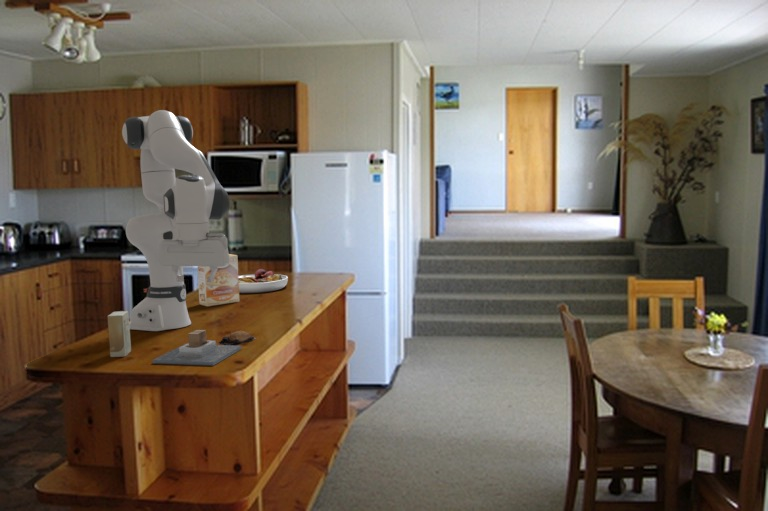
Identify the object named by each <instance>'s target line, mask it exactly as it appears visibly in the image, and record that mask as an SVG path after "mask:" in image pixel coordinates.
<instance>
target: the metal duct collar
mask: <svg viewBox="0 0 768 511" xmlns="http://www.w3.org/2000/svg"><path fill="white" fill-rule="evenodd" d="M240 350H242V345H237V346H233V345H223V344H217V340H209V339H208V340H207V343H206V344H204V345H203V346H201V347H189V344H188V342H187V343H184V344H183V345H180V346H178V347H176V348H175V349H172V350H170V351H168V352H165V353H164V354H162V355H159V356H157V357H156V358H154V359H152V364H153V365H154V364H156V365H157V364H158V365H180V366H181V365H183V366H205V367H206V366H207V367H208V366H209V367H210V366H211V367H212V366H216V365H217V364H219V363H221V362H222V361H224V360H227V358H229V357H230V356H232V355H233V354H235V353H237V352H239V351H240Z"/></svg>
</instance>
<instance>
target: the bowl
mask: <svg viewBox="0 0 768 511" xmlns="http://www.w3.org/2000/svg"><path fill="white" fill-rule="evenodd" d="M238 279H239V294H259V293H267V292H268V293H269V292H273V291H278V290H281V289H283V288H285V286H287V284H288V282H289V277H288V275H284V274H275V273H274V271H272V270H269V271H266V270H265V269H263V268H259V269H258V270H256V271H255V273H254V274H253V273H252V274H242V275H238Z"/></svg>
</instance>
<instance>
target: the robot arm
mask: <svg viewBox="0 0 768 511" xmlns="http://www.w3.org/2000/svg"><path fill="white" fill-rule="evenodd" d="M121 135H122V139H123V141H124V142H125V145H126V146H127V147H128V148H129V149H132V150H138V151H139V150H140V158H139V159H140V160H139V162H140V164H139V165H140V174H141V175H140V176H141V184H142V193H143V194H142V195H143V197H145V199H146V200H147V201H149V202H150V203H152V204H155V205H156V206H157V208H158V210H159V213H147V214H141V215H137V216H134V217H131V218H130V219H129V220H128V222H127V224H126V227H125V235H126V238H127V240H128V241H129V243H130V244H131V245H132V246H134V247H135V248H137V249H139V251H140V252H141V253H142V255H143V256H144V258H145V261H146V262H147V265H148V272H149V281H150V285H149V286H148V287H147V288H143V293H146V294H145V295H146V296H145V297H144V299H143V300H141V301H140V302H139V303H137V305H135V306H134V307H133V308H132V309H131V311H130V315H129V327H130V330H136V331H148V332H160V331H166V330H174V329H175V330H176V329H180V328H185V327H188V326H190V325H192V321H191V319H190V316H189V315H190V314H189V312H188V306H187V303H186V302H187V301H186V300H187V289H186V284H185V279H184V278H185V276H184V267H198V266H210V270H212V271H211V274H210V275H209V276H207V282H214V275H215V274H216V272H217V270H218V267H223V266H226V265H228V263H229V262H230V259H229V254H230V253H229V248H228V247H229V242H228V241H229V239H228V237H227V236H226V235H225V234H223V233H221V232H220V233H214V232H210V226H209V225H210V223H209V220H217V221H220V220H221V219H222V218H224V216H226V215H227V214H228V212H229V211H230V207H231V206H230V198H229V194H228V192H227V190H226V189H225V188H224V187H223V185H221V183H220V182H219V180H218V178H217V176H216V174H215V173H214V171H213V169H212V167H211V166H210V164H209V162H208V161H207V159H206V157H205V155H204V153H203V152H202V151H201V150H199V149H197V148H196V147H195V146H194V145H192V144H191V143H192V140H193V135H194V130H193V125H192V123H191V120H189V118H188V117H185V116H182V115H175V114H174V113H173V112H171V111H168V110H165V109H160V110H159V109H158V110H156V111H154V112H152V113H151V114H150V115H146V116H132V117H131V116H130V117H128V118H126V119H125V120H124V122H123V126H122V130H121ZM176 170H179V171H183V172H187V173H190V174H182V175H179V176H177V177H176Z"/></svg>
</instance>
